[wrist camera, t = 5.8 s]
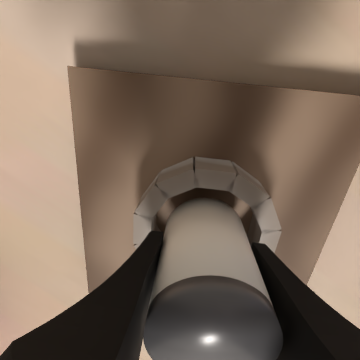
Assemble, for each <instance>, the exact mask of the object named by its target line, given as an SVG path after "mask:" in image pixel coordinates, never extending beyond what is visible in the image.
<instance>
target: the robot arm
mask: <svg viewBox="0 0 360 360" xmlns="http://www.w3.org/2000/svg"><path fill="white" fill-rule="evenodd" d="M162 243H163V232H160V231H150V232H149V233H148V235H147V236H146V238H145V239H144V240H143V242H142V243H141V244H140V245H139V247H138V248H137V249H136V250H135V251H134V252H133V254H132V255H131V256H130V257H129V258H128V259H127V260H126V261H125V262H124V263H123V264H122V265H121V266H120V267H119V268H118V269H117V270H116V271H115V272H114V273H113V274H112V275H111V276H110V277H109V278H108V279H107V280H105V281H104V282H103V283H102V284H101V285H99V286H98V287H97V288H96V289H94V290H93V291H92V292H91V293H89V294H88V295H87V296H85V297H84V298H83V299H81V300H80V301H79V302H77V303H76V304H74V305H73V306H71V307H70V308H68V309H67V310H65V311H64V312H62V313H61V314H59V315H58V316H56V317H55V318H53V319H51V320H50V321H48V322H46V323H45V324H43V325H41V326H39V327H38V328H36V329H34V330H32V331H31V332H29V333H27V334H25V335H24V336H22V337H20V338H18V339H16V340H14V341H13V342H12V343H11V344H10V345H9V347H8V348H7V349H6V350H5V351H4V352H3V354H2V355H1V356H0V360H139V356H140V351H141V346H142V340H143V333H144V327H145V322H146V317H147V313H148V308H149V303H150V298H151V294H152V289H153V284H154V280H155V275H156V270H157V266H158V261H159V257H160V252H161V247H162ZM251 249H252V251H253V254H254V257H255V259H256V262H257V265H258V267H259V270H260V273H261V276H262V278H263V281H264V284H265V286H266V289H267V292H268V294H269V297H270V300H271V302H272V305H273V308H274V311H275V313H276V316H277V319H278V321H279V324H280V327H281V330H282V333H283V346H282V350H281V352H280V354H279V356H278V358H277V359H276V360H360V329H359V328H357V327H356V326H355V325H353V324H352V323H351V322H349V321H348V320H347V319H345V318H344V317H343V316H342V315H340V314H339V313H338V312H337V311H335V310H334V309H333V308H332V307H330V306H329V305H328V304H327V303H326V302H324V301H323V300H322V299H321V298H320V297H319V296H317V295H316V294H315V293H314V292H313V291H312V290H311V289H310V288H309V287H308V286H307V285H305V284H304V283H303V282H302V281H301V280H300V279H299V278H298V277H297V276H296V275H295V274H294V273H293V272H292V271H291V270H290V269H289V268H288V267H287V266H286V265H285V264H284V263H283V262H282V261H281V260H280V259H279V258H278V257H277V256H276V254H275V253H274V252H273V251H272V250H271V249H270V248H269V247H268V246H267V245H266V244H263V243H255V242H252V246H251Z"/></svg>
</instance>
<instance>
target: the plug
mask: <svg viewBox="0 0 360 360" xmlns="http://www.w3.org/2000/svg"><path fill="white" fill-rule="evenodd" d="M143 339H144V344H145V348H146V350H147V352H148V354H149V355H150V356H151V358H152V359H153V360H276V359H277V358H278V356H279V354H280V352H281V350H282V346H283V333H282V330H281V327H280V324H279V321H278V319H277V316H276V313H275V311H274V308H273V305H272V302H271V300H270V297H269V294H268V292H267V289H266V286H265V284H264V281H263V278H262V276H261V273H260V270H259V267H258V265H257V262H256V259H255V257H254V254H253V251H252V249H251V246H250V243H249V241H248V238H247V235H246V232H245V230H244V227H243V224H242V222H241V219H240V217H239V215H238V214H237V212H236V211H235V210H234V209H233V208H232V207H230V206H229V205H228V204H226V203H224V202H222V201H220V200H216V199H212V198H196V199H192V200H189V201H186V202H184V203H182V204H181V205H179V206H178V207H177V208H176V209H175V210H174V211H173V212H172V213H171V215H170V216H169V218H168V220H167V224H166V228H165V233H164V237H163V243H162V247H161V252H160V257H159V261H158V266H157V270H156V275H155V280H154V284H153V289H152V294H151V298H150V303H149V308H148V313H147V317H146V322H145V327H144V333H143Z"/></svg>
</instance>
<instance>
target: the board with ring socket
mask: <svg viewBox="0 0 360 360" xmlns="http://www.w3.org/2000/svg"><path fill="white" fill-rule="evenodd" d="M67 67H68V78H69V89H70V99H71V110H72V121H73V131H74V142H75V153H76V163H77V174H78V185H79V195H80V206H81V217H82V227H83V238H84V249H85V259H86V270H87V281H88V291H89V293H91V292H92V291H93V290H94V289H96V288H97V287H98V286H99V285H101V284H102V283H103V282H104V281H105V280H107V279H108V278H109V277H110V276H111V275H112V274H113V273H114V272H115V271H116V270H117V269H118V268H119V267H120V266H121V265H122V264H123V263H124V262H125V261H126V260H127V259H128V258H129V257H130V256H131V255H132V254H133V252H134V251H135V250H136V249H137V248H138V247H139V245H140V244H141V243H142V242H143V240H144V239H145V238H146V236H147V235H148V233H149V232H150V231H160V232H163V237H164V233H165V228H166V224H167V220H168V218H169V216H170V215H171V213H172V212H173V211H174V210H175V209H176V208H177V207H178V206H179V205H181V204H182V203H184V202H186V201H189V200H192V199H196V198H212V199H216V200H220V201H222V202H224V203H226V204H228V205H229V206H230V207H232V208H233V209H234V210H235V211H236V212H237V214H238V215H239V217H240V219H241V222H242V224H243V227H244V230H245V232H246V235H247V238H248V241H249V243H250V246H252V242H255V243H263V244H266V245H267V246H268V247H269V248H270V249H271V250H272V251H273V252H274V253H275V254H276V256H277V257H278V258H279V259H280V260H281V261H282V262H283V263H284V264H285V265H286V266H287V267H288V268H289V269H290V270H291V271H292V272H293V273H294V274H295V275H296V276H297V277H298V278H299V279H300V280H301V281H302V282H303V283H304V284H305V285H307V283H308V281H309V278H310V276H311V274H312V271H313V269H314V267H315V265H316V262H317V260H318V258H319V255H320V253H321V251H322V248H323V246H324V244H325V242H326V239H327V237H328V235H329V232H330V230H331V228H332V225H333V223H334V221H335V219H336V216H337V214H338V212H339V209H340V207H341V205H342V202H343V200H344V198H345V195H346V193H347V191H348V189H349V186H350V184H351V182H352V179H353V177H354V175H355V172H356V170H357V168H358V166H359V163H360V96H358V95H348V94H338V93H329V92H319V91H309V90H299V89H289V88H279V87H270V86H260V85H250V84H240V83H230V82H220V81H210V80H201V79H191V78H181V77H171V76H161V75H151V74H141V73H132V72H122V71H112V70H102V69H92V68H82V67H73V66H67Z"/></svg>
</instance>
